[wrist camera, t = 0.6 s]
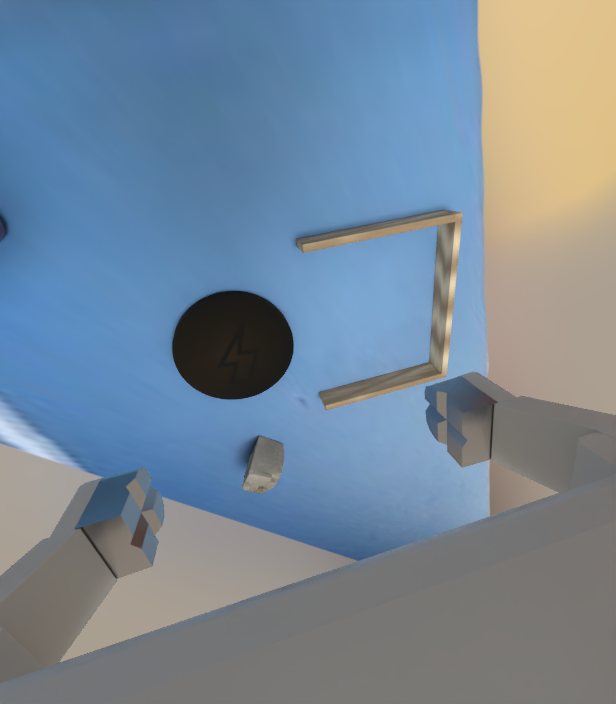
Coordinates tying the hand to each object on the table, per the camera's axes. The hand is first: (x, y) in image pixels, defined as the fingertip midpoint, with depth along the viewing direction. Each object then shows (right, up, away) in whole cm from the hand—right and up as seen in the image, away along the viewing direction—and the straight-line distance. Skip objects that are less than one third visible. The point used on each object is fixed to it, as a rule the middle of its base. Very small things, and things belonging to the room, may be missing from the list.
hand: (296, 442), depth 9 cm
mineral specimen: (-9, -16, +53) cm, 56 cm away
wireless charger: (-11, +4, +42) cm, 43 cm away
